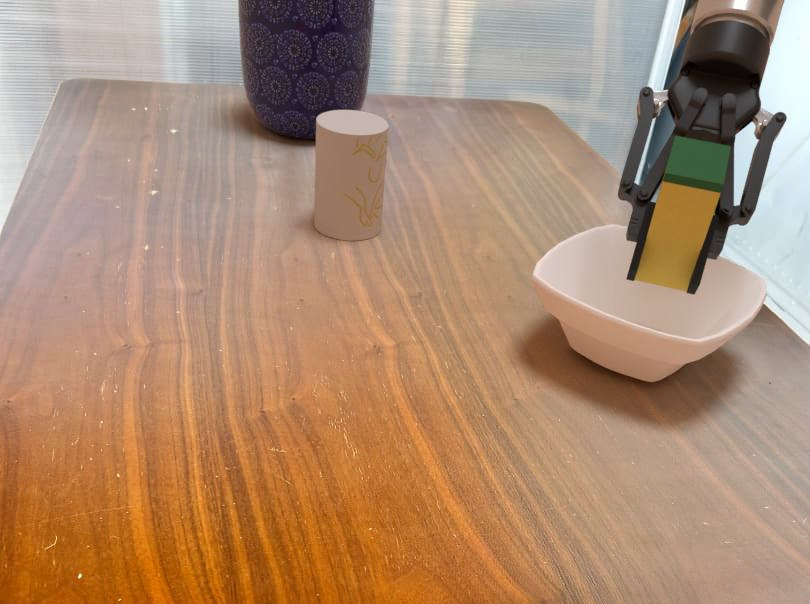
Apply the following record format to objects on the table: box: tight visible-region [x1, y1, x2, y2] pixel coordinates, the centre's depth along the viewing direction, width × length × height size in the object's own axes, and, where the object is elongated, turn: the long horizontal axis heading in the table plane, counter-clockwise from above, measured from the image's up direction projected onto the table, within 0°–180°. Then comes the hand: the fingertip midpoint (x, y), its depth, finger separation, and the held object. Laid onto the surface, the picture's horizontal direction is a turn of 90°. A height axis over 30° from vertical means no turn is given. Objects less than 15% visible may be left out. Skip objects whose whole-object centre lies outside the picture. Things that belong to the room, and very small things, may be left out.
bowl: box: [530, 223, 768, 383], centre depth 88 cm, size 21×21×9 cm
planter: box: [237, 0, 375, 140], centre depth 124 cm, size 18×18×21 cm
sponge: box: [635, 136, 731, 291], centre depth 81 cm, size 5×7×11 cm
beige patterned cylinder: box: [313, 110, 390, 242], centre depth 103 cm, size 8×8×12 cm
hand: (662, 281), depth 81 cm, fingers closed on sponge, 5 cm apart
